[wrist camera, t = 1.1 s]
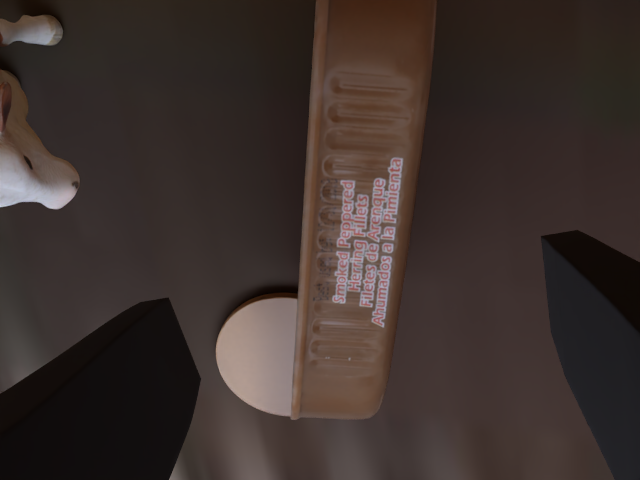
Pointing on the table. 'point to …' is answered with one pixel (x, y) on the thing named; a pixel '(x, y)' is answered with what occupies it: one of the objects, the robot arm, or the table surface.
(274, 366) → the cork coaster
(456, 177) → the table surface
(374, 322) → the tin
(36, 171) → the bull figurine
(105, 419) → the robot arm
